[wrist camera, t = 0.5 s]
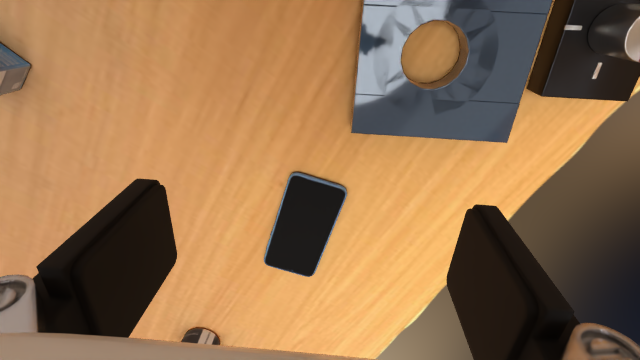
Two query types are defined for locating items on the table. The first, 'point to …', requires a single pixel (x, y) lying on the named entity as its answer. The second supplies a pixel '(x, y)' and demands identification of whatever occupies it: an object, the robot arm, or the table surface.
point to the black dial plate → (580, 57)
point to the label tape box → (11, 71)
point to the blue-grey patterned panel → (457, 86)
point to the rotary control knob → (617, 32)
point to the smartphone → (304, 224)
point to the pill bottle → (201, 337)
